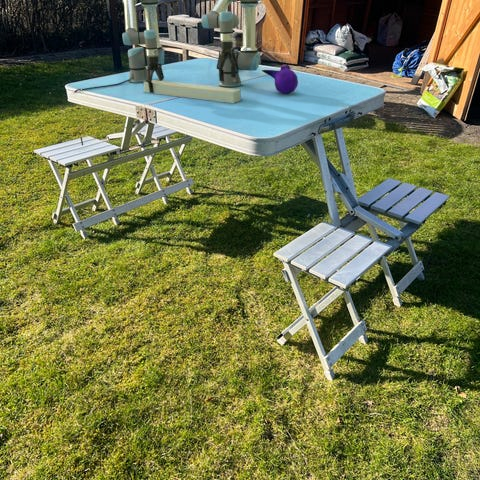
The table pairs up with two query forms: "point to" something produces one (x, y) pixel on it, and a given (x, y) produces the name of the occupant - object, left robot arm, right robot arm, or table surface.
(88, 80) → the table surface
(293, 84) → the toy
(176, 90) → the beige rectangular bar
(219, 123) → the table surface
